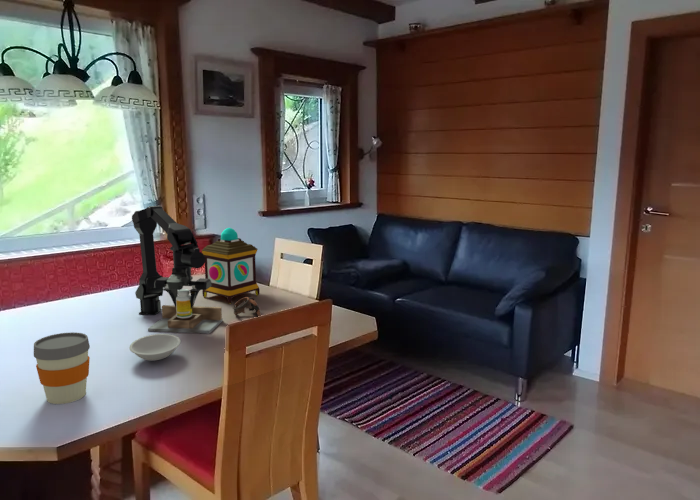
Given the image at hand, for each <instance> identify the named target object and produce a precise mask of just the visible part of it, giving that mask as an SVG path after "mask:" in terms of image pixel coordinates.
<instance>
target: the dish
mask: <svg viewBox="0 0 700 500" xmlns="http://www.w3.org/2000/svg"><path fill="white" fill-rule="evenodd" d="M180 344H181V338H180V337H178V336H177V335H174V334H169V333H156V334H151V335H150V334H148V335H146V336H143V337H140V338H138V339H135V340H134V341H133V342H132V343H131V344H130V345H129V351H130V352H131V353H133V354H134V355H135V356H137V357H138V358H140V359H143V360H145V361H152V362H153V361H159V360H163V359H165V358H167V357H169V356H170V355H172V353H174V352H175V350H176V349H177V348H178V347H179V346H180Z"/></svg>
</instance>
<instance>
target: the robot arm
mask: <svg viewBox="0 0 700 500" xmlns="http://www.w3.org/2000/svg"><path fill="white" fill-rule="evenodd" d="M131 221H132V224H133V228H134V230H135V231H136V232H137V233H138V235H139V245H140V255H141V261H142V262H141V264H142V274H141V276H140V277H139V281H138V283H139V285H138V287H137V288H136V291H135V292H134V293H135V298H136V299H139V303H140V305H139V306H140V311H139V312H138V315H149V316H150V315H153V316H154V315H157V314H159V313H160V312H162V305H161V299H160V297H163V294H164V292H167V294H168V295H169V296H170V298H171V300H172V303H173V306H175V307H176V297H177V296H179V295H178V290H181V289H184V287H191V289H189V292H190V293H189V294H190V296H191V308H192V307H193V306H195V303H196V300H197V297H198V294H199V292H200V291H203V290H207V289H208V288H209V287H211V280H210V279H205V278H204V277H203V278H199V279H197V280H193V276H192V268H193V269H198V270H199V269H201V268H202V267H203V266H205V256H204V254H203V253H202V251H201V250H200V248H199V245H198V240H197V239H196V238H195V236H194V234H193V232H192V230H191V228H190V227H187V225H183V224H180V223H178V222H177V221H175V220H174V219H173V218H172V217H171V216H170V215H169V214H168V213H167V212H166V211H165V210H164V209H163V207H162V206H161V205H150V206H147V207H146V208H144V209H141V210H135V211H134V213H133V214H132V215H131ZM158 226H159V228H161V229H162V230H163V231H164V232H165V233H166V235H167V236H166V239H167V240H168V242H169V243H170V244H171V246H170V248H169V249H170V251H172V261H173V262H172V263H173V267H172V269H171V274H170V275H169V276H166V277H165V276H163V275H161V274H160V273H159V272H158V270H157V260H156V250H155V240H154V239H155V238H154V232H155V231H156V229H157V227H158Z"/></svg>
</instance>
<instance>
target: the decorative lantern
mask: <svg viewBox="0 0 700 500" xmlns="http://www.w3.org/2000/svg"><path fill="white" fill-rule="evenodd" d="M257 252H258V248H257V247H256V246H253V244H249V243H247V242H245V241H244V240H242V238H240V237H238V232H237V231H236V229H233V228H232V227H227V228H225V229H223V231H221V234H220V238H217V240H216V241H214V242H213V243H212V244H209V245H206V246H204V247H203V249H201V253H203V254H204V256H205V263H204V277H205V278H204V279H210V280H211V287H209V288H208V289H207V290H201V292H202V293H201V294H202V297H204V298H207V296H208V293H209V294H213V295H217V296H221V297H226V298H227V302H228V304H229V305H231V304H232V300H233V298H234V297H237V296H240V295H243V294H247V293H252V292H254V294H255V295H256V296H257V297H258V296H259V295H260V287H259V285H258V283H257V277H256V275H257V272H256V268H257V267H256V266H257V265H256V254H257Z"/></svg>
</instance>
